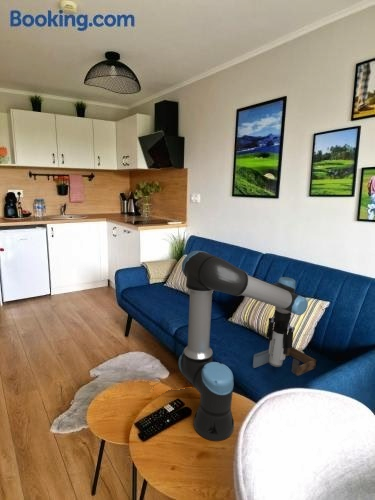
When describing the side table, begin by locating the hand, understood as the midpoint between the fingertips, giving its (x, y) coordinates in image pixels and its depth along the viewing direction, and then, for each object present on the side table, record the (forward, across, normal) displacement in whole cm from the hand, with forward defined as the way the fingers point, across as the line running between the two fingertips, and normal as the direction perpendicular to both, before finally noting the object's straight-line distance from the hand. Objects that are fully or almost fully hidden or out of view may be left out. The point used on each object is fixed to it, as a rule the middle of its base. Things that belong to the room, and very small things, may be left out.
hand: (276, 355), depth 153 cm
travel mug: (+4, 0, 0) cm, 4 cm away
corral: (+11, +3, -19) cm, 22 cm away
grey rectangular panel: (+11, +10, -3) cm, 15 cm away
